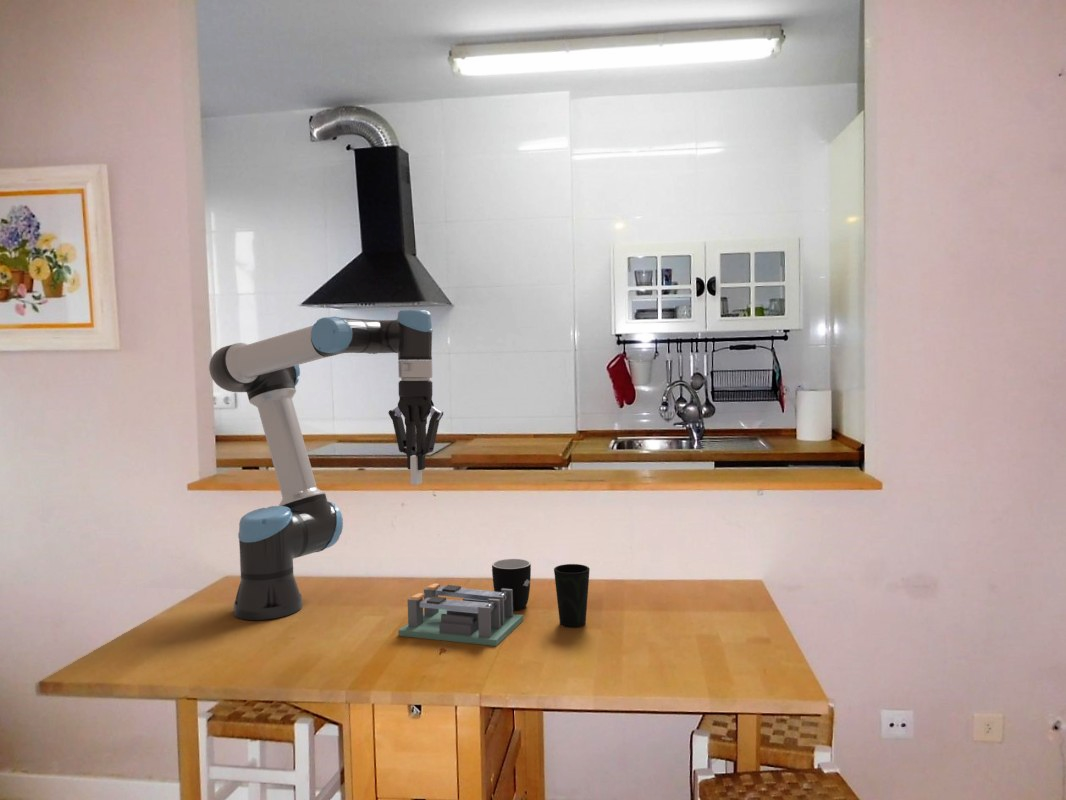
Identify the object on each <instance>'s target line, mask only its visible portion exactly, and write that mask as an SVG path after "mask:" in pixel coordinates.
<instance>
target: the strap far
mask: <svg viewBox="0 0 1066 800" xmlns="http://www.w3.org/2000/svg"><path fill="white" fill-rule="evenodd" d="M436 595H438V596H440V597H451V598H460V599H464V598H467V599H476V600H485V601H488V599H492V596H493V595H495V596H504V601H505V600H506V599H507V598H508V597H509V594H508V592H506V591H504V592H494V590H484V589H475V588H467V587H462V586H461V585H451V584H447V585H442V586H440V587H439V588H438V589H437V590H436Z"/></svg>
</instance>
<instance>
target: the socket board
mask: <svg viewBox="0 0 1066 800" xmlns="http://www.w3.org/2000/svg"><path fill="white" fill-rule="evenodd" d="M440 587H441V583H432V584H430V585H429V586H426V587H425V588H424V589H423V592H422V593H421V592H418V593H416V594H414V595H412V596H410V597H409V598H407V624H405V625H404V626H402V627H401V628H399V629H397V631H398V632H397V633H398V636H399V637H405V638H406V637H407V638H415V639H416V638H417V639H428V640H435V641H446V642H455V643H464V644H475V645H484V646H493V647H497V646H498V645H500V643H501V642H502V641H504V640H505V639H506V638H507V637H508V636H509V635H510V634H511V633H512V632H513V631H514V630H515V629H516V628H517V627H518V626H520V624H521V623H522V622H523V621H524V614H515V613H514V611H513V589H501V592H504V591H506V592H508V594H509V597H508V598H507V599H506V600H505V601H504V596H495V595H493V596H492V599H488V601H485V600H476V599H467V598H462V601H474V602H486V603H490V602H495V604H496V608H495V609H494V610H493V611H491V607H485V606H479V607H478V612H467V611H456V610H444V609H433V608H422V607H420V602H421V601H423V600H424V599H426V598H432V597H439V595H436V590H437V589H438V588H440Z"/></svg>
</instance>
